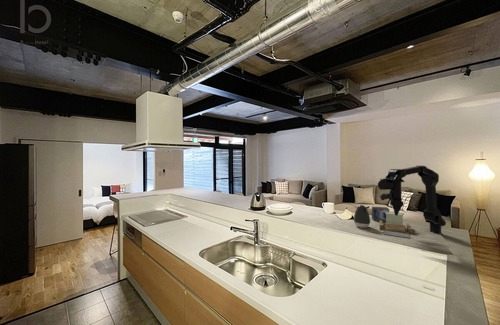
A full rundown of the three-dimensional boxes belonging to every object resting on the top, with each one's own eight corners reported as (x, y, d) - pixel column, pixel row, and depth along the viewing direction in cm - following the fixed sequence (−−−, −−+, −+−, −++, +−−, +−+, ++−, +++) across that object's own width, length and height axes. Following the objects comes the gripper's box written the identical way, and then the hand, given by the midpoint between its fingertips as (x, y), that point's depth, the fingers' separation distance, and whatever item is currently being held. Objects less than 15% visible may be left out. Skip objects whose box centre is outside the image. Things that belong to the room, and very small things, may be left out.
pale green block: (386, 226, 146) (386, 212, 146) (402, 228, 141) (402, 213, 141) (386, 227, 143) (386, 213, 143) (402, 229, 138) (402, 214, 138)
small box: (373, 221, 157) (373, 207, 157) (371, 219, 164) (371, 206, 164) (389, 223, 154) (389, 208, 154) (386, 220, 160) (386, 207, 160)
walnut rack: (379, 224, 151) (379, 220, 151) (409, 228, 142) (409, 223, 142) (379, 230, 138) (379, 225, 138) (412, 234, 129) (412, 229, 129)
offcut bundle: (385, 229, 139) (385, 223, 139) (405, 232, 134) (405, 225, 134) (385, 230, 138) (385, 223, 138) (405, 233, 132) (405, 226, 132)
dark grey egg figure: (373, 229, 140) (373, 206, 140) (358, 229, 140) (358, 206, 140) (365, 224, 150) (365, 203, 150) (351, 224, 150) (351, 203, 150)
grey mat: (383, 231, 135) (383, 230, 135) (408, 235, 128) (408, 234, 128) (383, 234, 129) (383, 233, 129) (410, 238, 122) (410, 237, 122)
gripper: (380, 187, 141) (380, 210, 141) (380, 190, 125) (380, 216, 125) (400, 188, 135) (400, 212, 135) (403, 191, 119) (403, 218, 119)
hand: (395, 214), depth 129 cm, fingers open, 4 cm apart
